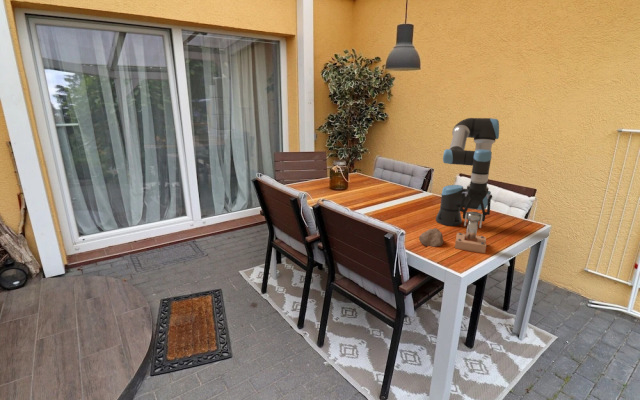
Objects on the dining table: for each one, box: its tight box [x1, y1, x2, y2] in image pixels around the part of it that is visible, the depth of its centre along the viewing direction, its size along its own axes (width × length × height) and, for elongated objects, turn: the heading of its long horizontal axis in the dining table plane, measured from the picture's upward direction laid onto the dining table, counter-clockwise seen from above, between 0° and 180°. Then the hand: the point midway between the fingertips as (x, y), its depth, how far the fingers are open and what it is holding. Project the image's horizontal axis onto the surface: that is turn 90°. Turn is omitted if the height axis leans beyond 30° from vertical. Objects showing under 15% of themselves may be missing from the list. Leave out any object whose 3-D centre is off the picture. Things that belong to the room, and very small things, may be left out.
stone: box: [418, 228, 444, 248], centre depth 175 cm, size 12×9×10 cm
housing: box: [454, 232, 487, 254], centre depth 170 cm, size 14×12×6 cm
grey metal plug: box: [465, 211, 482, 239], centre depth 168 cm, size 6×6×13 cm
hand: (472, 225), depth 168 cm, fingers closed on grey metal plug, 6 cm apart
